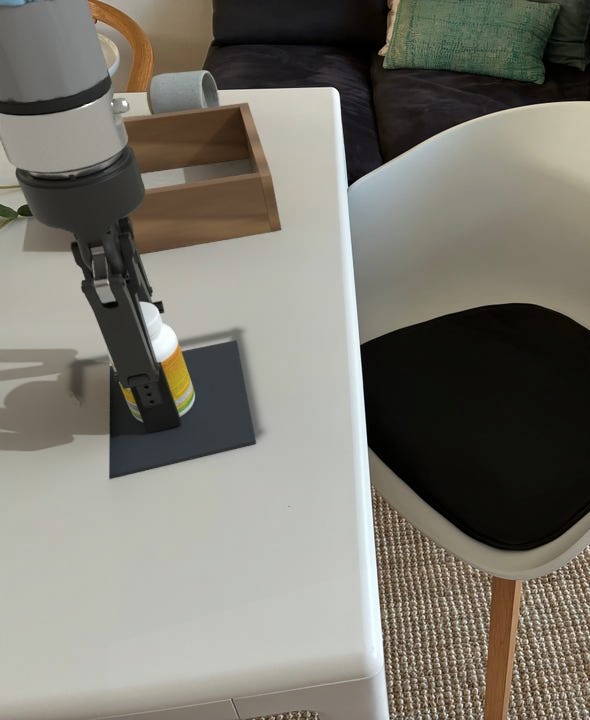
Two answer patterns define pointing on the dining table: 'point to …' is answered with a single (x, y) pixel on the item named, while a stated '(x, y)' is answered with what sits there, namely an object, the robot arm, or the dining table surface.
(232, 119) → the wooden box
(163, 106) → the ceramic mug
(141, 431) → the slate mat
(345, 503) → the dining table surface
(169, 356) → the supplement bottle
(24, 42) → the robot arm
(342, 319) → the dining table surface
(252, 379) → the dining table surface
